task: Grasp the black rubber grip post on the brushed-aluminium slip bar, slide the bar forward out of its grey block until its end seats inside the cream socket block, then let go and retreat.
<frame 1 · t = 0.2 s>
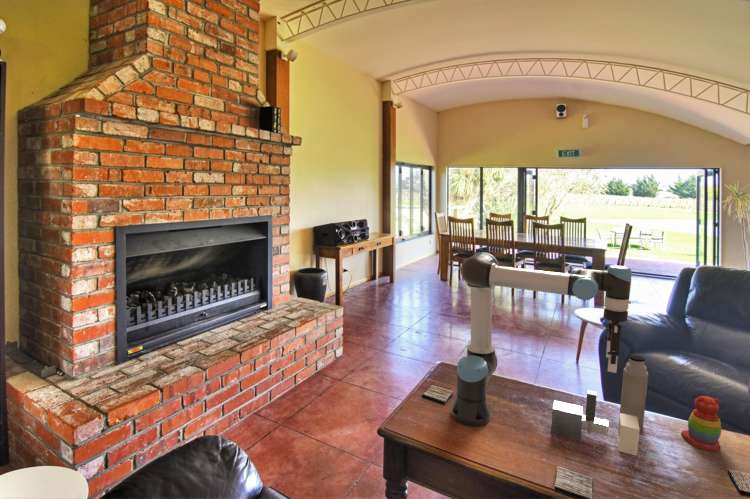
hand: (610, 364, 152), 27 cm above the table, fingers open, 13 cm apart
grey block: (566, 431, 157), on the table
socket block: (626, 446, 148), on the table
stacking bear: (701, 443, 150), on the table
thermos bottle: (630, 425, 161), on the table
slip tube: (581, 409, 153), point 10 cm above the table, slide at 0.0 cm
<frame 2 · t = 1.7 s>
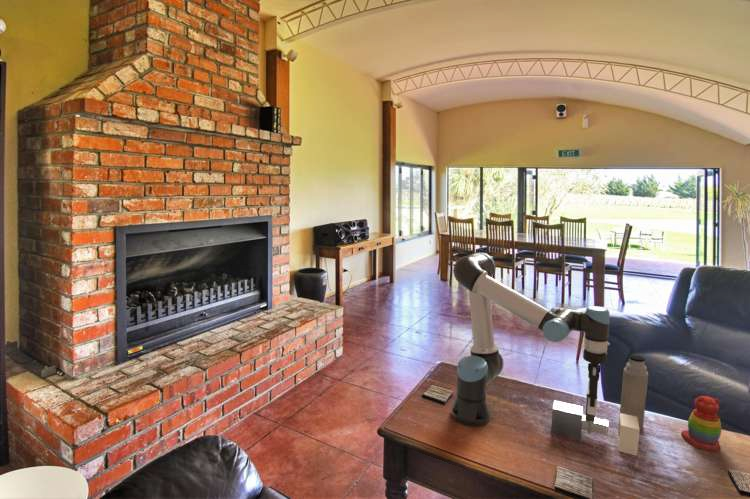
hand: (591, 405, 152), 13 cm above the table, fingers open, 13 cm apart
nothing on the table moved.
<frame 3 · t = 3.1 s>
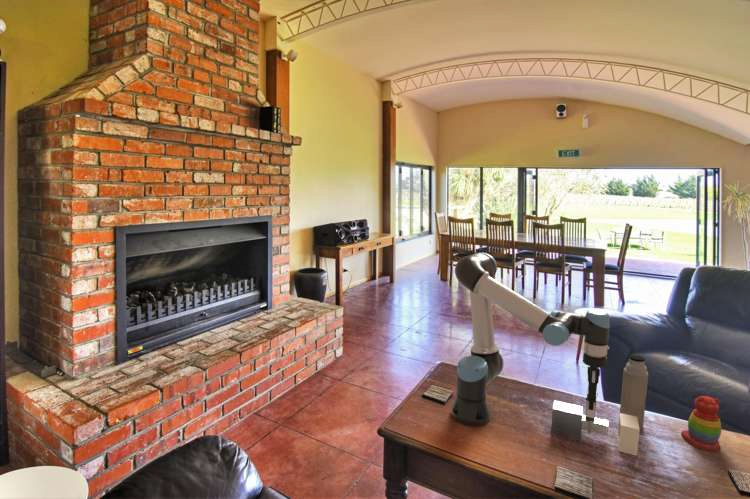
hand: (590, 414, 152), 9 cm above the table, fingers closed on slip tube, 3 cm apart
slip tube: (581, 409, 153), point 10 cm above the table, slide at 0.0 cm, touching gripper
everything else where it was.
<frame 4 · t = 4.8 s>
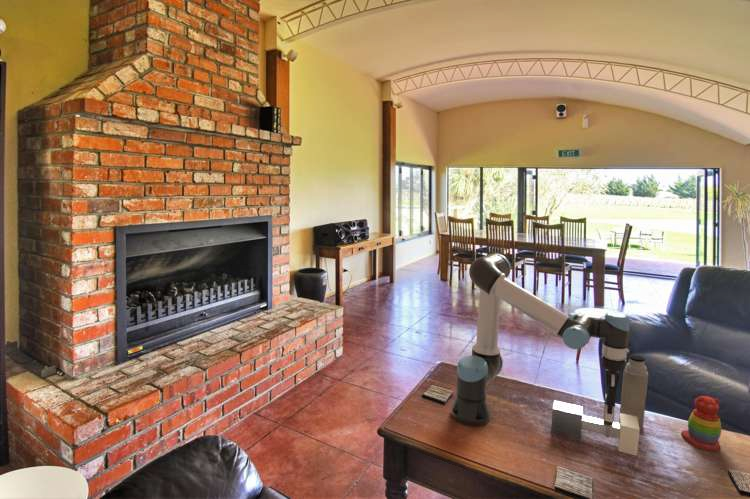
hand: (608, 418, 150), 9 cm above the table, fingers closed on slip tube, 3 cm apart
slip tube: (599, 413, 151), point 10 cm above the table, slide at 5.9 cm, touching gripper
everything else where it was.
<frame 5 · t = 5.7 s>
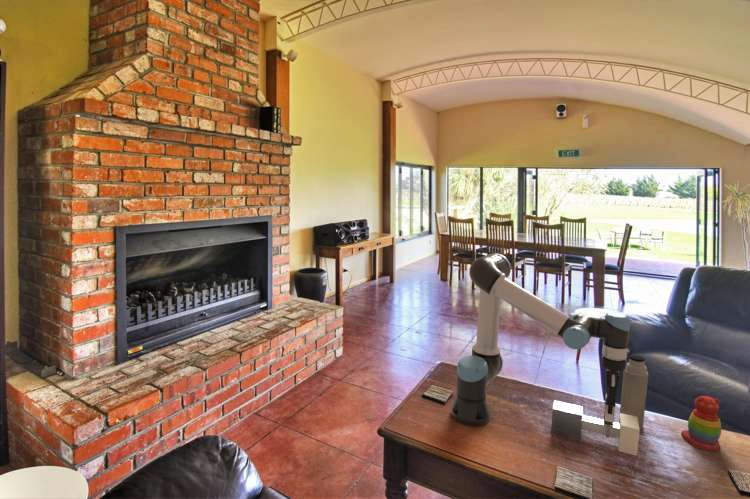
hand: (608, 418, 150), 9 cm above the table, fingers closed on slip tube, 3 cm apart
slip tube: (599, 413, 151), point 10 cm above the table, slide at 6.0 cm, touching gripper
everything else where it was.
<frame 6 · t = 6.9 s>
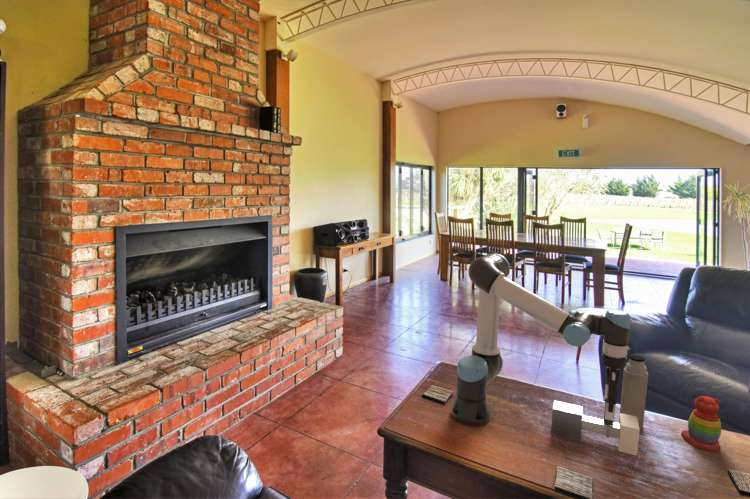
hand: (608, 410, 149), 12 cm above the table, fingers open, 13 cm apart
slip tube: (599, 413, 151), point 10 cm above the table, slide at 6.0 cm
everything else where it was.
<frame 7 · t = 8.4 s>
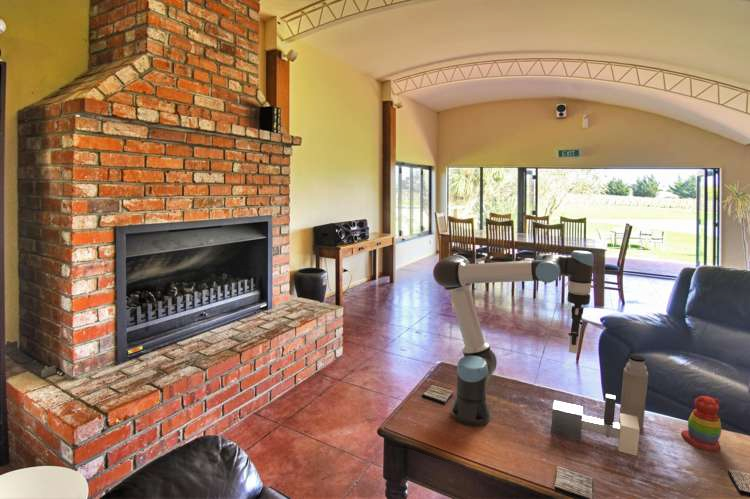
hand: (573, 346, 158), 31 cm above the table, fingers open, 13 cm apart
nothing on the table moved.
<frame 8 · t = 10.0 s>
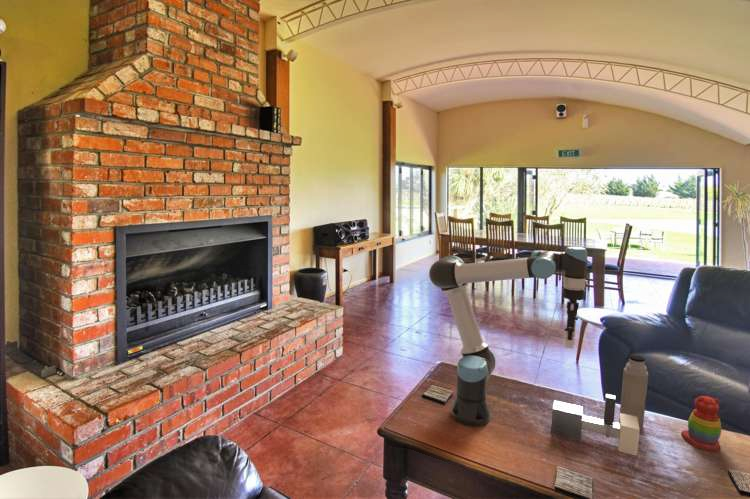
hand: (570, 341, 160), 33 cm above the table, fingers open, 13 cm apart
nothing on the table moved.
at the end: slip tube slide at 6.0 cm; the gripper is holding nothing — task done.
